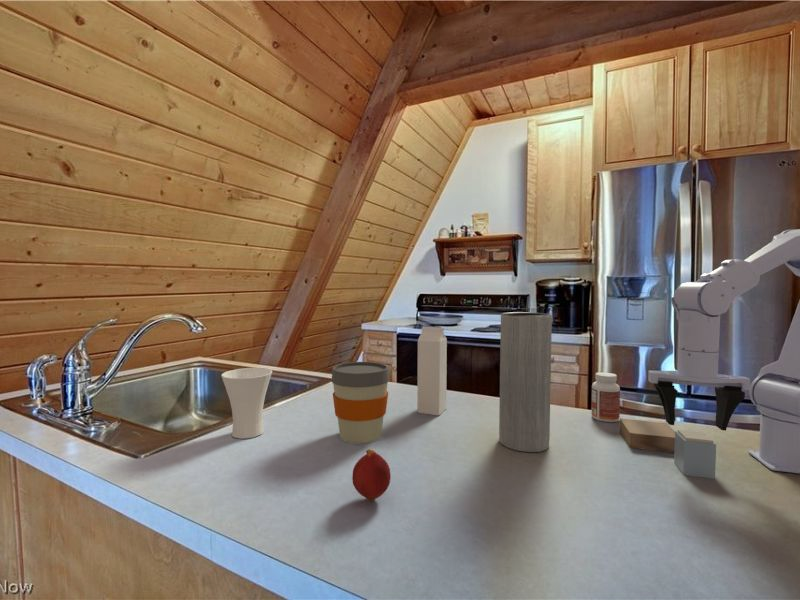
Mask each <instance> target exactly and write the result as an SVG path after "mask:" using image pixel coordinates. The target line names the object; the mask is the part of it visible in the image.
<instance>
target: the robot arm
mask: <svg viewBox="0 0 800 600" xmlns="http://www.w3.org/2000/svg"><path fill="white" fill-rule="evenodd" d="M783 264H784V265H785V266H786V267H787V268H788V269H789V270H790V271H791V272H792V273H793V274H794V275H795V276H797V277H800V228H799V229H797V228H796V229H795V228H794V229H793V228H791V229H786V230H784V231H782V232H781V233H779V234H776V235H774V236H773V238H772V241H771V242H769V243H768V244H766V245H764V246H763V247H762V248H760V249H759V250H757V251H756V252H754V253H753V254H751V255H750V256H748V257H747V258H746V259H739V258H738V259H725V260H723V261H722V262H720V266H719V267H718V268H716V269H714V270H712V271H711V272H709V273H703V274H701V275H700V276H699V279H697V280H696V281H688V282H683V283H681V284H680V285H679V286H678V287H677V288H676V289H675V291H674V293H673V296H671V297H670V301H671V302H670V303H671V305H672V307H673V308H674V310H675V312H676V317H675V319H676V320H677V322H678V345H677V349H678V350H677V368H676V369H677V370H648V375H647V376H648V377H647V379H648V380H647V381H648V382H649V383H651V384H653V387H654V388H655V391H656V392H657V394H658V397H659V399H660V402H661V405H662V408H663V411H664V417H665V423H667V424H668V425H669V426H675V423H676V421H675V420H676V417H675V416H676V414H675V413H676V411H675V410H676V401H677V396H678V391H679V390H677V389H676V388H675V385H685V386H696V387H697V386H699V387H710V388H711V387H713V388H714V391H715V392H714V393H715V401H716V408H715V409H716V411H715V412H716V413H715V427H717V428H718V429H719V430H721V431H727V429H728V425H729V422H730V420H731V418H732V415H733V414H734V412H735V410H736V408H737V407H738V406H739V405H740V404H741V402H742V401H743V400H745V396H746V392H745V391H748V395H749V399H750V400H751V403H752V404H753V405H755V406H756V412H759V413H760V419H759V421H760V423H759V424H760V425H759V441H758V442H759V444H758V445H759V446H758V447H759V448H758V450H752V449H749V450H748V451H747V452H748V454H750V455H751V456H752V457H754V459H756V460H758V461H759V463H761V464H763V466H766V467H767V468H768V469H769V470H772V471H777V472H784V473H793V474H800V299H799V301H798V303H797V307H796V309H795V313H794V315H793V317H792V321H791V323H790V326H789V328H788V332H787V334H786V337H785V341H784V344H783V346H782V348H781V351H780V355H779V357H778V360H776V361H774V362H772V363H768V364H767V365H764V366H763V367H761V368H760V371H759V373H758V375H757V377H755V378H754V379H753V380H752V382H751V379H750V378H749V377H746V376H738V375H732V374H731V375H730V374H729V375H728V374H720V373H719V355H720V353H719V352H720V333H721V332H720V331H721V329H720V328H721V327H720V326H721V315H722V314H725V313H727V311H728V310H729V308H730V307H731V304H732V302H733V301H735V299H737V297H739V296H741V295H742V294H744V293H746V292H748V291H749V290H752V288H755V287H756V286H757V285H758V284H759V283H760V281H761V280H760V279H761V277H760V276H762V275H763V274H766V273H768V272H770V271H771V270H773V269H776V268H778V267H780V266H781V265H783Z"/></svg>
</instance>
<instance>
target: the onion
mask: <svg viewBox="0 0 800 600" xmlns="http://www.w3.org/2000/svg"><path fill="white" fill-rule="evenodd" d="M365 451H366V454H365V455H363V456H361V457H360V459H358V460H357V462H356V463H355V465H354V467H353V469H352V477H351V480H352V485H353V487H354V489H355V490H356V492H357V493H358V494H359V495H361V496H363V498H365V499H366V500H368V501H370V502H373V501H375V500H377V499H378V498H380V497H382V495H383V494H385V492H386V491H387V490H388V488H389V486H390V483H391V469H390V466H389V463H388V462H387V460H386V459H385V458H383V456H381V454H379V453H377V452H376V451H375V450H374V449H373V448H369V449H367V450H365Z"/></svg>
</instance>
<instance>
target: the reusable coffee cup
mask: <svg viewBox="0 0 800 600" xmlns="http://www.w3.org/2000/svg"><path fill="white" fill-rule="evenodd" d="M331 372H332V373H331V384H332V385H333V393H332V398H333V399H332V400H333V407H334V408H333V409H334V414H335V417H337V422H338V423H337V424H338V430H339V431H338V432H339V436H340V439H341V440H342V441H344V442H346V443H350V444H368V443H373V442H375V441H377V440H379V439H380V438H381V437H382V431H383V424H384V416H385V415H386V414H387V406H388V399H389V398H388V397H389V391H388V383H389V382H390V374H389V366H388V365H387V364H385V363H381V362H374V361H352V362H351V361H350V362H344V363H343V362H342V363H339V364H335V365H334V366H332V371H331Z"/></svg>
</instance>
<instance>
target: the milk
mask: <svg viewBox="0 0 800 600" xmlns="http://www.w3.org/2000/svg"><path fill="white" fill-rule="evenodd" d="M447 343H448V339H447V337H446V335H445V332H444V327H441V326H439V327H438V326H422V327H421V333H420V335H419V337H418V339H417V394H416V395H417V396H416V397H417V405H416V406H417V413H418V414H426V415H433V416H438V417H440V416H441V414H442V413H444V412H445V411H446V410H447V373H448V371H447V367H448V366H447V365H448V364H447V361H448V359H447V358H448V357H447V356H448V355H447V350H448V349H447V347H448V344H447Z"/></svg>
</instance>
